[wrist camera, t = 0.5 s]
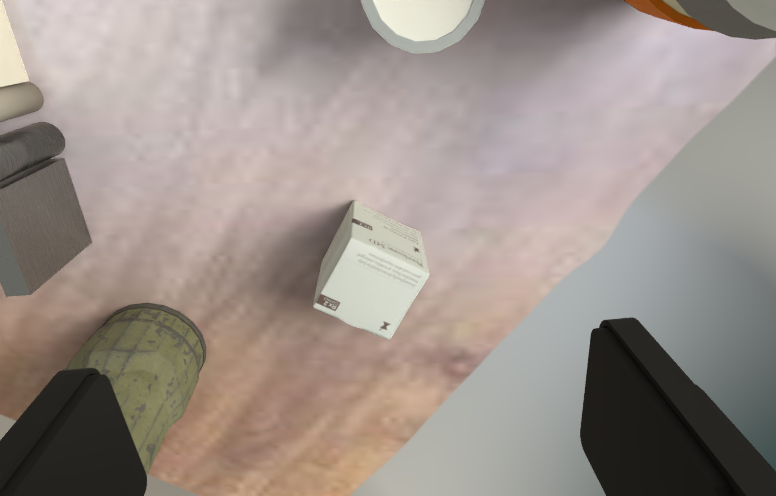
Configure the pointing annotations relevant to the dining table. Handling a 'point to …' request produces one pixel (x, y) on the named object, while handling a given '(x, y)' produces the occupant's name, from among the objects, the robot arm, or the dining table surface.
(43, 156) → the gate frame
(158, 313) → the thermos
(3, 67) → the gate
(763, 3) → the reusable coffee cup
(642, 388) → the robot arm
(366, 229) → the skincare box
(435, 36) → the white short cylinder
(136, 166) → the dining table surface
